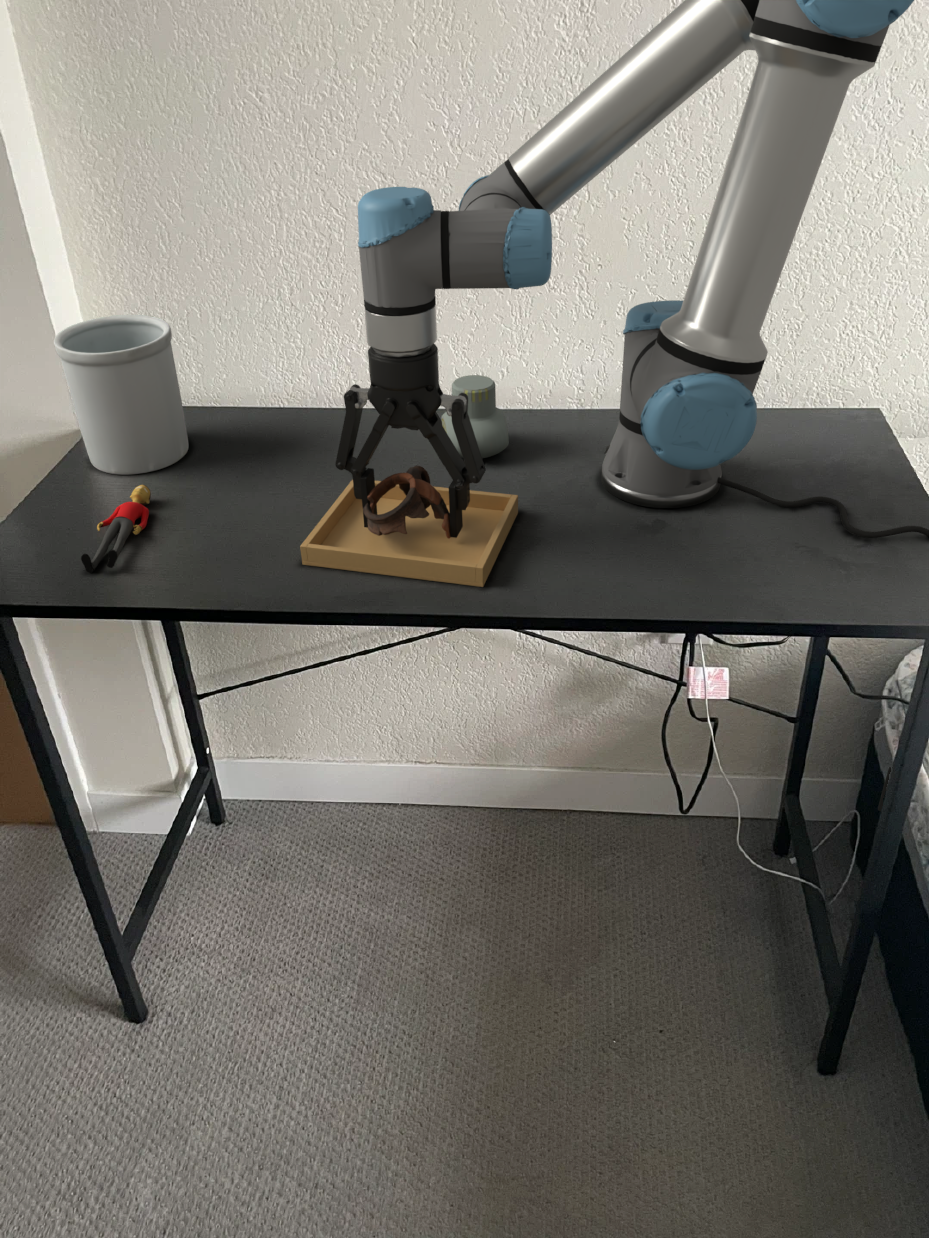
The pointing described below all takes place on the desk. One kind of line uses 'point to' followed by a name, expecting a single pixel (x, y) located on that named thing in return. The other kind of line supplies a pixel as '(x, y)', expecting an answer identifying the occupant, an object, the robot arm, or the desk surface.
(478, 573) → the tray
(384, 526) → the broken clay pot
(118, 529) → the person figure
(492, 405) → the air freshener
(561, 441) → the desk surface
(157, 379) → the utensil holder
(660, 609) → the desk surface
